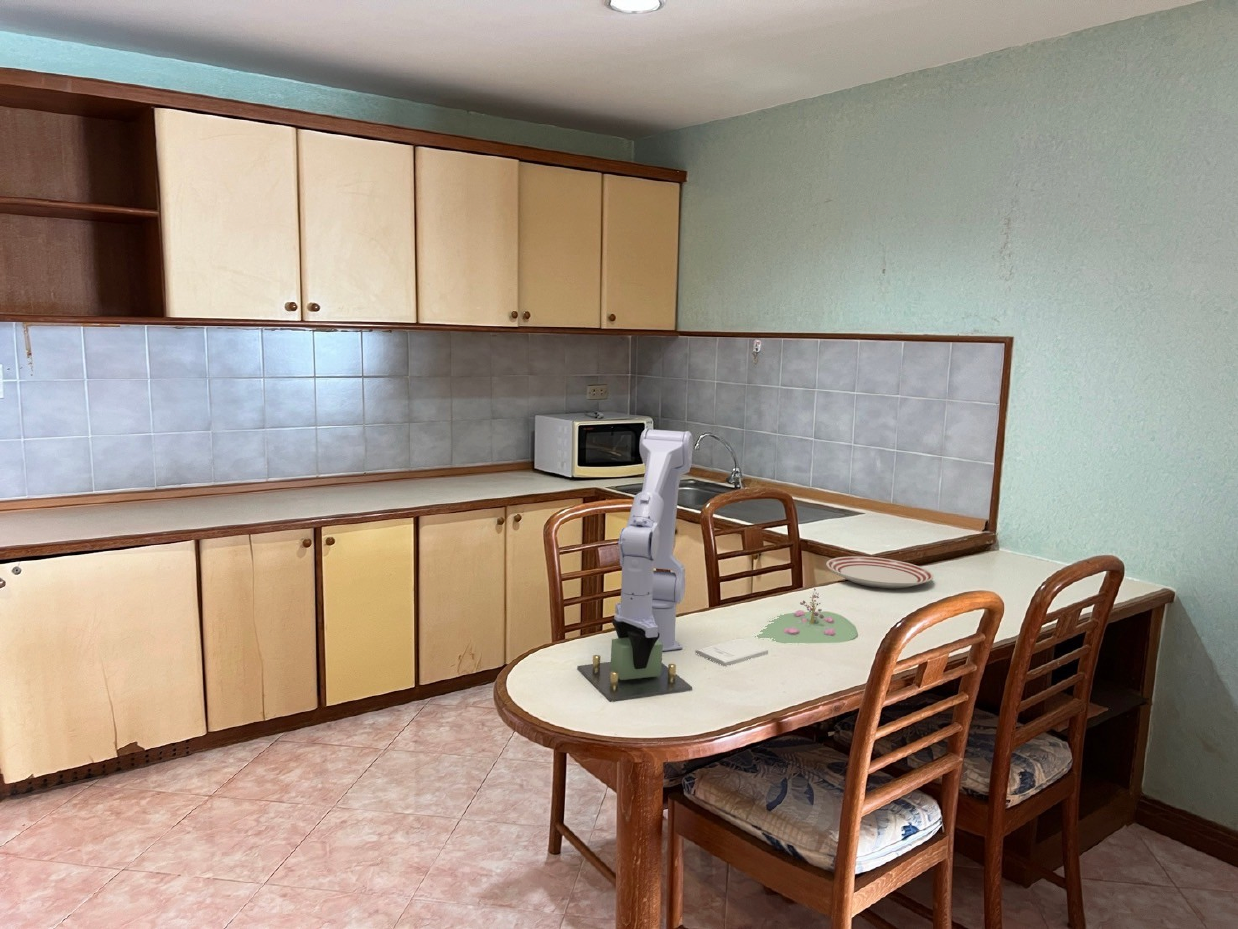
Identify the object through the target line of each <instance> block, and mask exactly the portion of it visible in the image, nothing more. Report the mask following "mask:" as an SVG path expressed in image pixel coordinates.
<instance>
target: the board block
mask: <svg viewBox="0 0 1238 929" xmlns="http://www.w3.org/2000/svg"><path fill="white" fill-rule="evenodd" d="M662 649H663V644H662V643H660V642H659V641H658V640H657V641H656V643H655V644H654V646H653V649H652V651H651V654H650V657H649V660H648V664H647V667H646V668H643V669H635V667H634V663H633V650H632V645H631V641H630V638H629V637H628V638H618V637H617V638H611V646H610V650H611V651H610V662H611V663H610V671H617V672H618V678H619V679H620V680H626V679H635V678H645V677H654V676H661V665H662V663H663V661H662V660H663V651H662Z"/></svg>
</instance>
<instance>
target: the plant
mask: <svg viewBox="0 0 1238 929" xmlns="http://www.w3.org/2000/svg"><path fill="white" fill-rule="evenodd" d="M816 590H817V589H816V588H814V587H813V593H812V596H810V597H809V598H811V601H812V602H811V601H809V604H807V602H806V601H805V600H802V601H801V602H800V603H799V604H800V605H801V606H804V607H806V610H807V611H804V610H800V609H798V610H796V611H795V612H790V613H784V615H782V614H779V615H780V616H778V615H776V616H777V617H779V618H777V619H774V620H772V621H769V620H768V621H769V622H774V623H771V624H768V625H767V626H765V627H767V628H766V629H763V630H761V631H760V632H763V633H762V634H759V635H757V637H758V638H757V639H760V638H770V639H771V638H773V639H772V641H771V642H774V641H776V643H780V644H786V643H798V644H797V645H799V643H806V644H831V643H832V644H835V643H836V644H837V643H838V644H839V643H845V642H849V641H852V640H854V639H856V638H857V637H858V636H859V633H858V630H857V627H856V625H854V623H852V622H851V621H850V620H848V618H846V617H844V616H843V615H842V614H838V613H835V612H833V611H832V612H831V611H824V610H822V609H821V608H818V609H817V610H816V608H817V606H819V605H821V602H817V600H816V599H820V597H819V592H818V593H817V591H816ZM815 591H816V592H815ZM815 598H816V599H815ZM754 638H756V636H755V637H754ZM774 639H775V640H774Z"/></svg>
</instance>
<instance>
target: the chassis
mask: <svg viewBox="0 0 1238 929" xmlns="http://www.w3.org/2000/svg"><path fill="white" fill-rule="evenodd" d="M610 663H611V661H606V662H601V655H600V654H593V655H592V663H589V664H581V665H577V667H576V668H577V670H578V671H579V672H580V674H582V675H583V677H585V678H586V679H587V680H588V681H589V682H590V684H592V685H593V686H594V687H595V689H596V690H598V691H599V692H600V693H601V695H603V696H604V698H606V700H608V702H610V703H611V701H613V702H618V700H620V701H627V700H633V699H634V700H635V699H639V698H646V697H647V698H648V697H653V696H662V695H668V694H675V693H683V692H688V691H689V692H690V691H693V686H692V685H691V684H690V683H688V682H687V681H685V680H684V679H683V678H682V677H680V676H679V675H678V674H677V673H676V672H677V671H676V670H677V665H676V663H668V666H667V665H665V664H664V663H663V662H662V665H661V676H654V677H645V678H635V679H626V680H620V679H619V678H618V672H617V671H610Z"/></svg>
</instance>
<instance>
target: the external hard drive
mask: <svg viewBox="0 0 1238 929" xmlns="http://www.w3.org/2000/svg"><path fill="white" fill-rule="evenodd" d="M696 653H697V654H699V655H701V656H702V658H703V657H704V659H706V658H708V659H707V660H709V659H711V660H710V661H712V662H713V661H714V662H713V663H715V662H716V663H715V664H717V663H718V664H717V665H720V664H721V665H720V666H722V665H723V666H722V667H724V666H725V667H728V666H727V665H729V666H731V664H732V665H735V664H738V663H742V662H746V661H749V660H751V658H753V659H755V657H756V658H759V657H762V655H763V656H765V654H766V655H768V654H769V649H768V648H767V647H764V646H761V645H758V644H756V643H754V642H751V641H748V640H746V639H744V638H740V637H739V638H736V639H732V640H727V641H725V642H724V641H723V642H720V643H717V644H713V645H710V646H706V647H703V648H698V649H696V650H695V654H696ZM697 654H696V655H697ZM699 655H698V656H699ZM701 656H700V657H701ZM748 659H749V660H748ZM745 660H746V661H745ZM741 661H742V662H741Z"/></svg>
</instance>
